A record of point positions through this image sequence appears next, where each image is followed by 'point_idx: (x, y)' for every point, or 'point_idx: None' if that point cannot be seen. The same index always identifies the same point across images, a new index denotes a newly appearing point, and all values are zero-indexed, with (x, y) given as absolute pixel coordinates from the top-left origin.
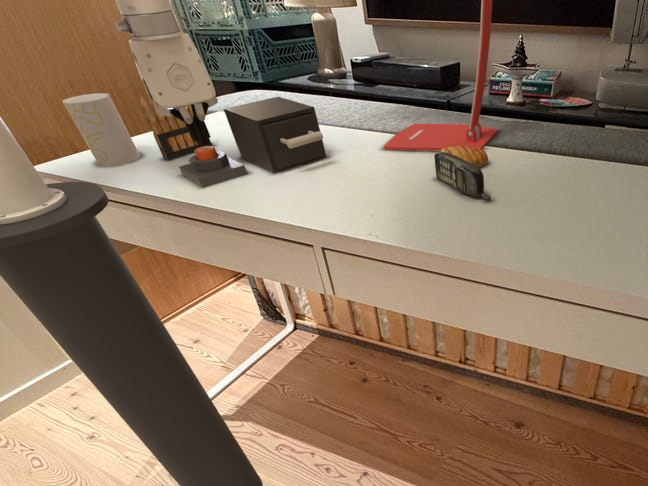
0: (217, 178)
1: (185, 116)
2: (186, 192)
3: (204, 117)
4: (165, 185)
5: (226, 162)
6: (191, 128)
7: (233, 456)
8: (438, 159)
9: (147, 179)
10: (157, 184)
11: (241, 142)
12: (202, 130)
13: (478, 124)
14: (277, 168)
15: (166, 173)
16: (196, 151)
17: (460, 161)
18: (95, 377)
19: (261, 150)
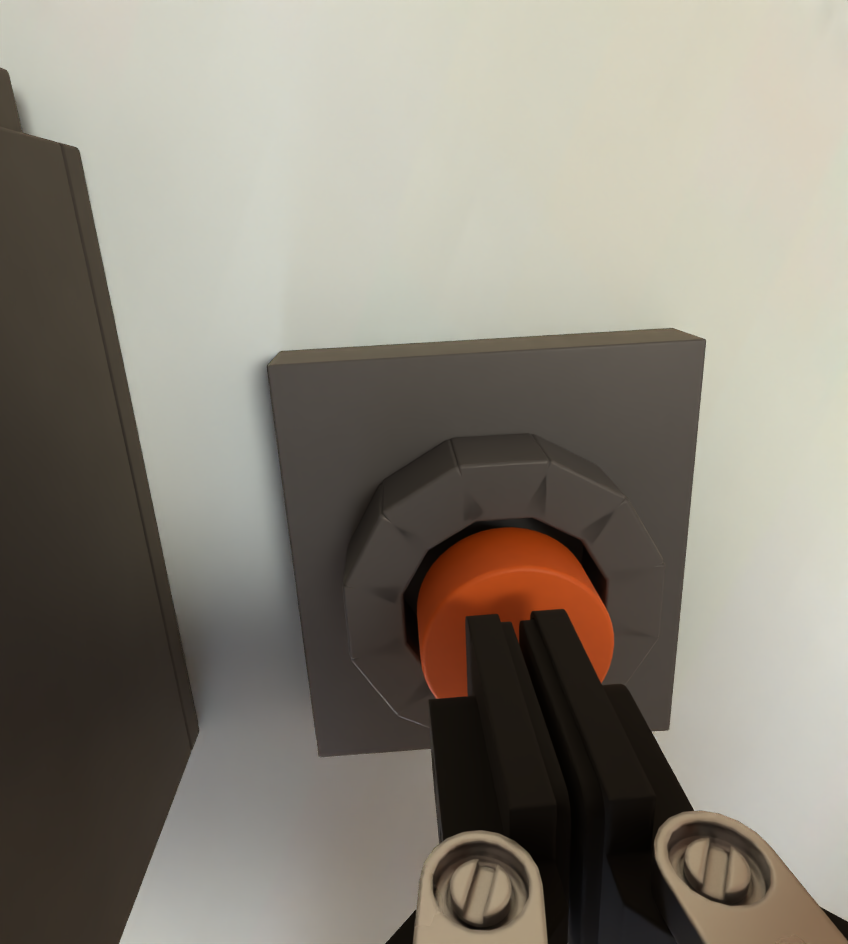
0: (542, 340)
1: (788, 924)
2: (797, 324)
3: (435, 876)
4: (808, 587)
5: (389, 482)
6: (657, 784)
7: None
8: None
9: (817, 771)
10: (828, 643)
11: (125, 732)
12: (529, 709)
13: None
14: (8, 80)
15: (693, 792)
16: (608, 630)
17: None
18: None
19: (4, 280)
